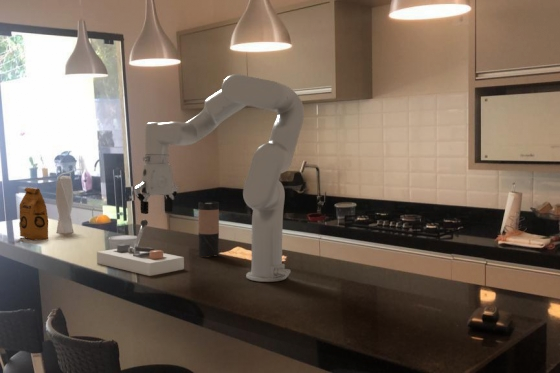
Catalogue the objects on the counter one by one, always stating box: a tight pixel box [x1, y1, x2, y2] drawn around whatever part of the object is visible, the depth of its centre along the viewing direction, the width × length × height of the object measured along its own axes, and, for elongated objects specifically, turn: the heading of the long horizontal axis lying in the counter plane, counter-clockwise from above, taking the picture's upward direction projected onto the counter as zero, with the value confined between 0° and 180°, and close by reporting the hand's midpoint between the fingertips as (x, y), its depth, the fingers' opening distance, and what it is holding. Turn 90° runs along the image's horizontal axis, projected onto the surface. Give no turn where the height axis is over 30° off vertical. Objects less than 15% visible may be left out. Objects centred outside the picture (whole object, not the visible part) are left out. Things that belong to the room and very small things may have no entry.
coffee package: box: [18, 187, 49, 241], centre depth 249 cm, size 10×12×22 cm
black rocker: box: [135, 246, 155, 252], centre depth 192 cm, size 3×5×1 cm, turn 140°
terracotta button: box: [150, 249, 164, 260], centre depth 188 cm, size 4×4×3 cm
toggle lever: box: [130, 219, 149, 253], centre depth 197 cm, size 2×2×12 cm
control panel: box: [96, 247, 185, 277], centre depth 194 cm, size 29×14×6 cm, turn 50°
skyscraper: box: [55, 171, 74, 235], centre depth 266 cm, size 8×8×28 cm
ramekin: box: [107, 234, 138, 250], centre depth 223 cm, size 11×11×5 cm
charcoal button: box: [117, 244, 130, 253], centre depth 199 cm, size 4×4×3 cm
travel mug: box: [197, 201, 220, 257], centre depth 214 cm, size 8×8×20 cm
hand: (156, 212), depth 188 cm, fingers open, 9 cm apart
